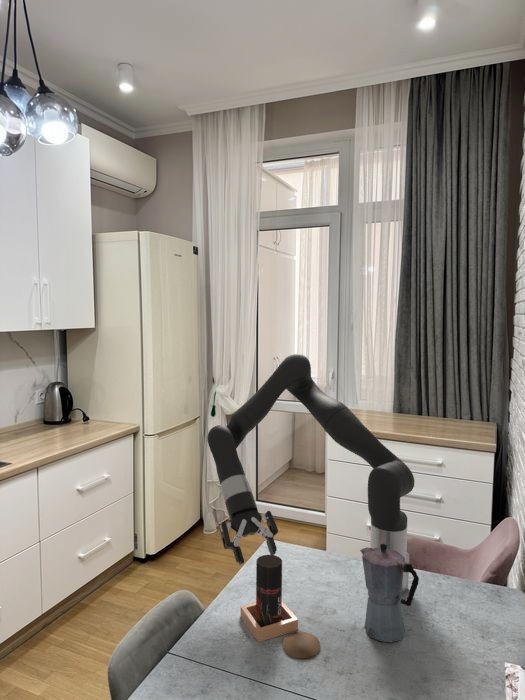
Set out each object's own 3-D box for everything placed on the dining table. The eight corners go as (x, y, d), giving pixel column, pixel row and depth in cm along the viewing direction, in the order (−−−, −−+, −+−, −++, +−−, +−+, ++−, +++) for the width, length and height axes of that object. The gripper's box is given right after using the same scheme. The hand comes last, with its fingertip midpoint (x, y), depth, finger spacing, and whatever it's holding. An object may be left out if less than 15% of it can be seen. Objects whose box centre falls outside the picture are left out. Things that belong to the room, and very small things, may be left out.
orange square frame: (277, 605, 119) (277, 596, 118) (298, 629, 110) (298, 619, 109) (240, 616, 114) (240, 606, 114) (258, 642, 105) (258, 631, 105)
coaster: (307, 630, 110) (307, 627, 110) (327, 652, 102) (327, 649, 102) (276, 640, 106) (276, 637, 106) (294, 663, 99) (294, 661, 99)
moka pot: (369, 607, 118) (371, 529, 117) (428, 638, 107) (431, 551, 106) (346, 625, 112) (348, 541, 110) (406, 659, 101) (409, 567, 99)
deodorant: (279, 633, 108) (279, 569, 107) (253, 629, 110) (254, 566, 109) (283, 617, 114) (284, 556, 113) (258, 613, 115) (259, 553, 114)
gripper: (258, 497, 132) (278, 556, 123) (209, 508, 126) (227, 571, 117) (266, 485, 126) (288, 546, 118) (216, 496, 120) (234, 561, 111)
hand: (257, 559), depth 117 cm, fingers open, 8 cm apart
